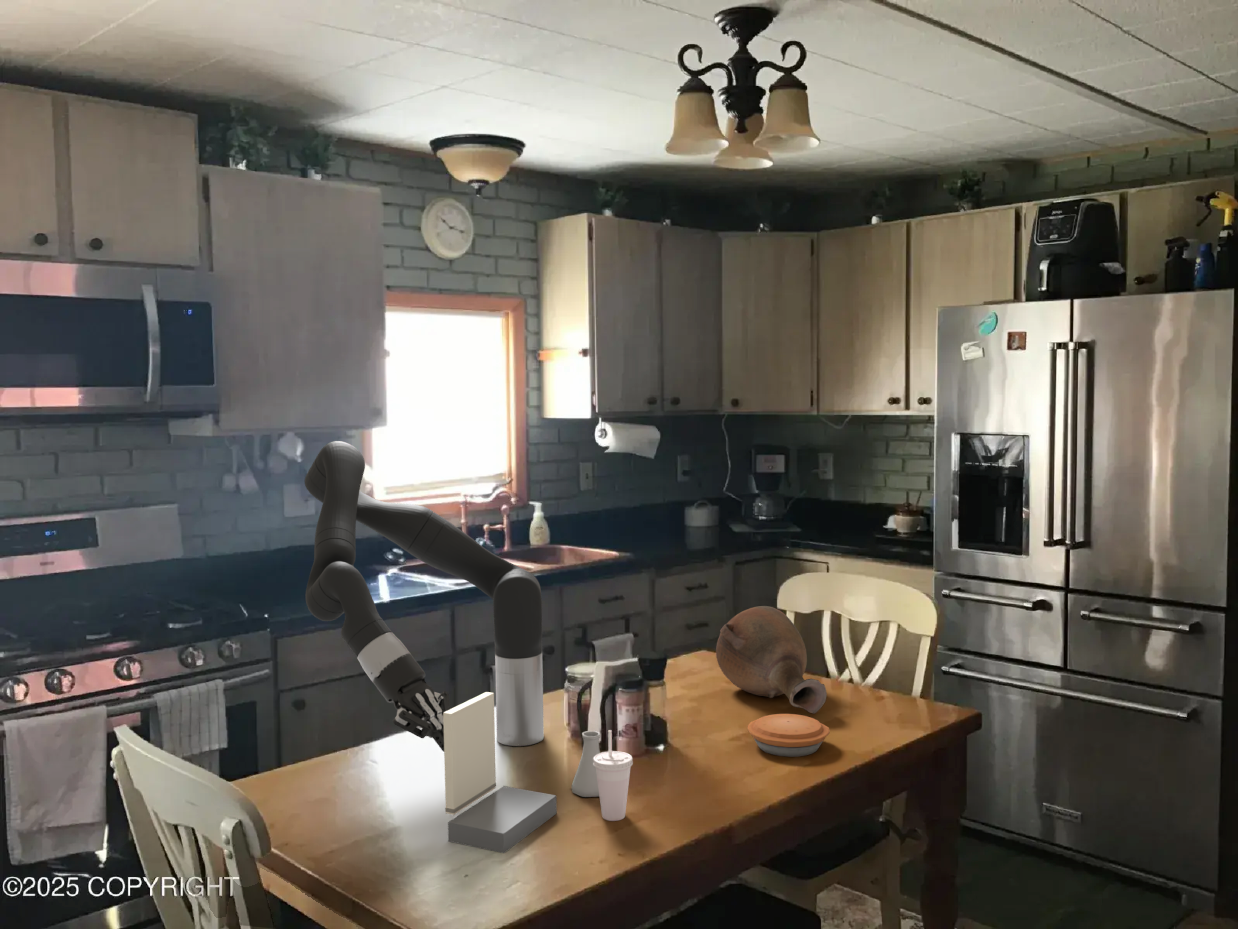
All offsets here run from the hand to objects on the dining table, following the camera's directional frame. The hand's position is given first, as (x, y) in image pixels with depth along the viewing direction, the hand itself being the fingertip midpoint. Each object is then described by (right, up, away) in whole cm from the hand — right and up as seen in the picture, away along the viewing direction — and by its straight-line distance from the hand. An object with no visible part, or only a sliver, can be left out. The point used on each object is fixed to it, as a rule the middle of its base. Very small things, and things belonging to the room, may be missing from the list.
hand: (453, 750), depth 169 cm
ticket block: (+8, -11, -3) cm, 14 cm away
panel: (+3, -8, -1) cm, 8 cm away
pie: (+59, -8, +32) cm, 68 cm away
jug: (+61, -6, +62) cm, 87 cm away
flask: (+22, -10, +12) cm, 27 cm away
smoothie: (+26, -11, +1) cm, 28 cm away
